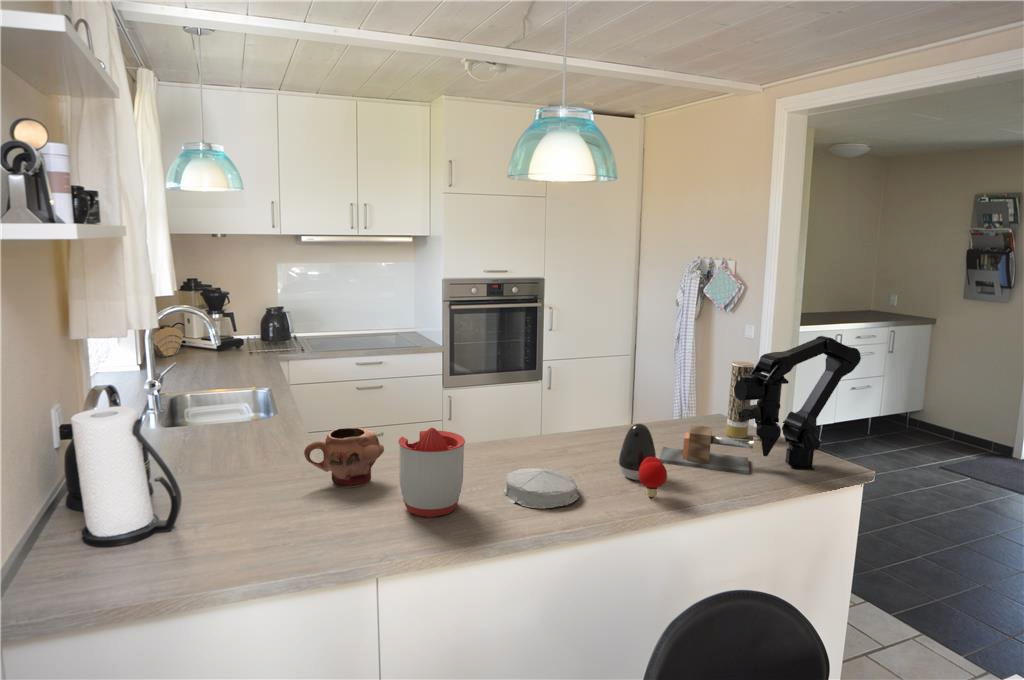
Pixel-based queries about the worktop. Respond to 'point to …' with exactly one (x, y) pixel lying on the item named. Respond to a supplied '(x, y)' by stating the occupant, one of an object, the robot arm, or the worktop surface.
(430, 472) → the citrus juicer
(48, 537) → the worktop surface
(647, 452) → the black rounded cone
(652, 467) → the light bulb
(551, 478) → the food container
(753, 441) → the shaft
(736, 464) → the bearing block
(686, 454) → the spacer collar
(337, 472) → the brown sculpted mug
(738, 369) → the patterned tall cylinder
